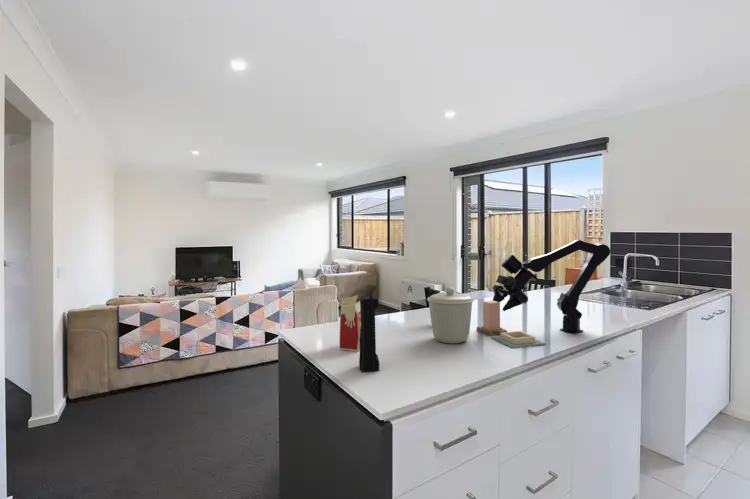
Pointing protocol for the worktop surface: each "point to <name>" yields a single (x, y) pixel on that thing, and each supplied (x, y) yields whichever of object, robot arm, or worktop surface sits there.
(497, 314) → the peg
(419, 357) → the worktop surface
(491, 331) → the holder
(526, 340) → the mat
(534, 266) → the robot arm
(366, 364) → the portable radio
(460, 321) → the canister
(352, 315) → the milk carton
